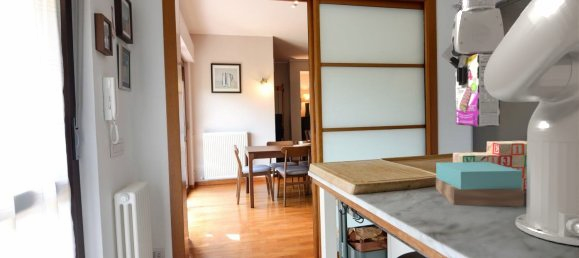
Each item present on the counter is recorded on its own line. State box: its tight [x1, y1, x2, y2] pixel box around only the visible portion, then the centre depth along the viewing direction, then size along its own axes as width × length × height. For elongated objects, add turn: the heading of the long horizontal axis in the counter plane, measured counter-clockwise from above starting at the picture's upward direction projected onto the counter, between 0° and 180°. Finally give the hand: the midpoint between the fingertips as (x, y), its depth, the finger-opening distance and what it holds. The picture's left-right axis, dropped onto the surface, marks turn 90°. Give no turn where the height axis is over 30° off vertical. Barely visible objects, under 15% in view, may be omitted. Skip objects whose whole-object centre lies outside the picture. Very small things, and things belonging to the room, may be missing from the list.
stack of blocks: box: [452, 140, 527, 191], centre depth 84 cm, size 21×6×12 cm, turn 84°
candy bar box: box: [454, 53, 501, 128], centre depth 74 cm, size 11×5×16 cm, turn 176°
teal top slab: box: [435, 161, 522, 190], centre depth 75 cm, size 13×13×4 cm
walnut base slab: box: [435, 177, 525, 207], centre depth 75 cm, size 14×14×4 cm
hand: (476, 83), depth 74 cm, fingers closed on candy bar box, 5 cm apart
